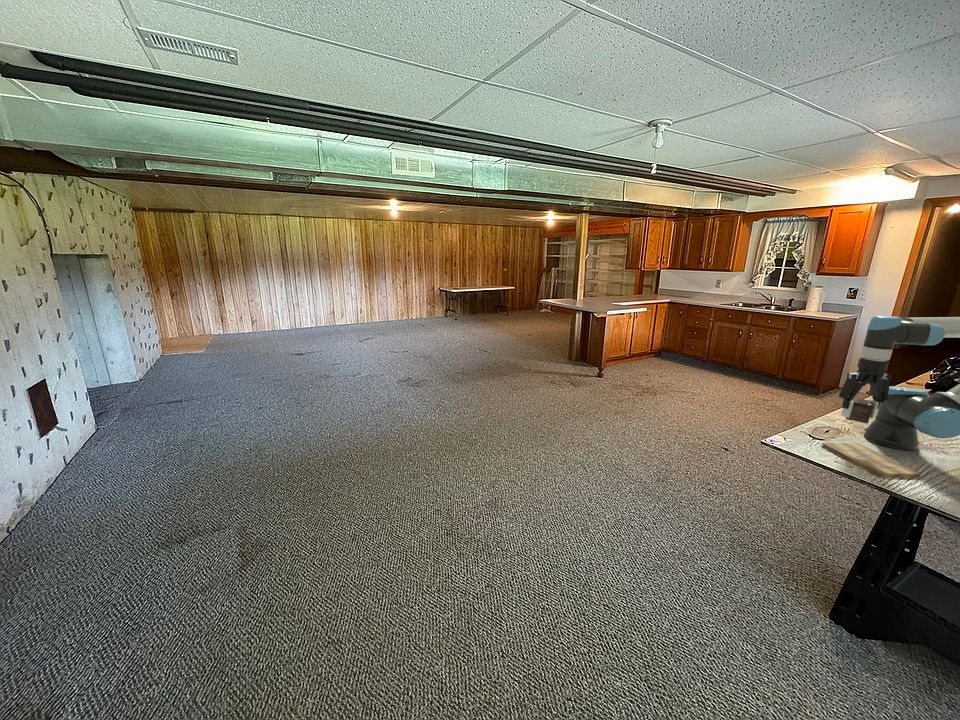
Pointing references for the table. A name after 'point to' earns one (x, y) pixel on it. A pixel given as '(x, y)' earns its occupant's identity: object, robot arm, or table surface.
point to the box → (861, 410)
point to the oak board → (871, 460)
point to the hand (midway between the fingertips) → (857, 416)
